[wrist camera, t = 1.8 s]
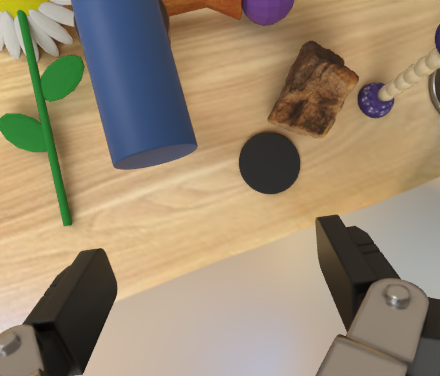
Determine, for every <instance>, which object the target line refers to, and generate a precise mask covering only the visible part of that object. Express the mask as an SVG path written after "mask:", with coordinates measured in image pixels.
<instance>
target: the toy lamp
mask: <svg viewBox="0 0 440 376" xmlns="http://www.w3.org/2000/svg"><path fill="white" fill-rule="evenodd" d="M435 44H436V48H435V49H433V50H432V51H430V52H429V53H428V55H427V56H424V57H422V58H421V59H419V60H418V61H417V63H416V64H413V65H411V66H409V67H408V68H407V69H406V71H404V72H402V73H400V74H399V75H398V76H397V77H396V78H394V79H392V80H391V81H390V82H389V83H388V84H386V85H385V84H383V83H371V84H368V85H366V86H364V87H363V88H362V89H361V90H360V92H359V95H358V104H359V107H360V109H361V110H362V112H363V113H364V114H366V115H367V116H369V117H372V118H380V117H383V116H384V115H386V114H387V113H388V112H389V111H390V110H391V109H392V107H393V104H394V97H395V96H396V95H399V94H400V93H402V92H403V91H404V90H406V89H408V88H410V87H411V86H412V85H413V84H415V83H417V82H419V81H421V80H422V79H423V78H424V77H425V76H428V75H430V74H432V73H433V72H434V71H435V70H436V69H438V68H440V24H439V26H438V28H437V30H436V34H435Z"/></svg>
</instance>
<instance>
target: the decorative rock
mask: <svg viewBox="0 0 440 376" xmlns="http://www.w3.org/2000/svg"><path fill="white" fill-rule="evenodd" d="M358 80H359V76H358V75H357V74H356V73H355V72H354V71H351V70H350V69H349V68H348V67H346V66H344V60H343V58H341V57H340V56H339V55H337V54H335V53H334V52H333V51H331V50H330V49H325V48H323V47H322V46H320V45H319V44H317V43H316V42H314V41H309V42H306V43H305V44H304V45H303V46H302V48H301V49H300V52H299V55H298V57H297V59H296V61H295V63H294V64H293V65H292V67H291V69H290V71H289V74H288V77H287V79H286V82H285V85H284V87H283V89H282V92H281V95H280V97H279V99H278V100H277V102H276V104H275V106H274V108H273V110H272V112H271V114H270V115H269V117H268V121H269V122H270V123H272V124H276V125H279V126H281V127H283V128H285V129H287V130H289V131H292V132H296V133H298V134H301V135H309V136H312V137H314V138H323V137H324V136H325V135H326V134H327V133H328V131H329V130H330V129H331V128H332V126H333V124H334V122H335V117H336V115H337V114H338V113H339V112H340V110H341V109H342V107H343V104H344V100H345V99H346V97H347V96H348V95H349V93H350V92H351V91H352V90H353V88H354V87H355V86H356V84H357V83H358Z"/></svg>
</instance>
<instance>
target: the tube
mask: <svg viewBox="0 0 440 376" xmlns="http://www.w3.org/2000/svg"><path fill="white" fill-rule="evenodd" d="M71 4H72V8H73V12H74V16H75V20H76V24H77V27H78V31H79V35H80V39H81V43H82V47H83V51H84V55H85V58H86V62H87V66H88V70H89V74H90V78H91V82H92V86H93V90H94V93H95V97H96V101H97V105H98V109H99V113H100V117H101V121H102V124H103V128H104V132H105V136H106V140H107V144H108V148H109V152H110V155H111V159H112V163H113V166H114V168H116V169H124V170H127V169H138V168H145V167H150V166H155V165H159V164H163V163H166V162H170V161H173V160H176V159H179V158H181V157H184V156H186V155H188V154H190V153H192V152H193V151H195V150H196V149H197V142H196V138H195V135H194V131H193V127H192V124H191V120H190V117H189V113H188V109H187V106H186V102H185V98H184V95H183V91H182V87H181V84H180V80H179V76H178V73H177V69H176V65H175V62H174V58H173V54H172V51H171V47H170V43H169V40H168V36H167V33H166V29H165V25H164V22H163V18H162V14H161V11H160V7H159V3H158V0H71Z"/></svg>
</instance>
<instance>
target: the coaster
mask: <svg viewBox="0 0 440 376" xmlns="http://www.w3.org/2000/svg"><path fill="white" fill-rule="evenodd" d="M239 168H240V172H241V175H242V177H243V179H244V180H245V182H246V183H247V184H248V185H249V186H250V187H251V188H253V189H254V190H256V191H258V192H261V193H264V194H276V193H280V192H282V191H284V190H286V189H288V188H289V187H290V186H291V185H292V184H293V183H294V182H295V180H296V179H297V177H298V174H299V170H300V158H299V154H298V152H297V150H296V148H295V146H294V145H293V144H292V142H291V141H290V140H288V139H287V138H286V137H284V136H282V135H280V134H277V133H269V132H268V133H261V134H258V135H256V136H254V137H252V138H251V139H250V140H249V141H248V142H247V143H246V144H245V145H244V147H243V149H242V151H241V153H240V158H239Z"/></svg>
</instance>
